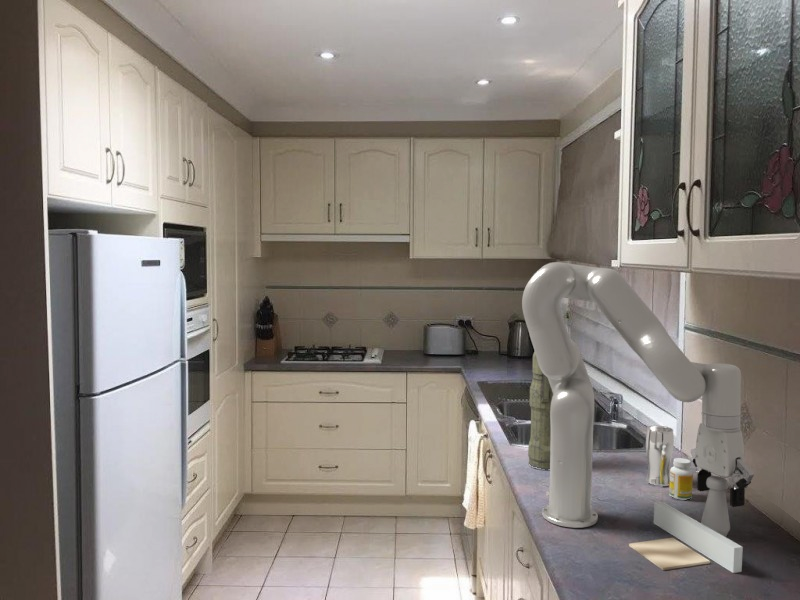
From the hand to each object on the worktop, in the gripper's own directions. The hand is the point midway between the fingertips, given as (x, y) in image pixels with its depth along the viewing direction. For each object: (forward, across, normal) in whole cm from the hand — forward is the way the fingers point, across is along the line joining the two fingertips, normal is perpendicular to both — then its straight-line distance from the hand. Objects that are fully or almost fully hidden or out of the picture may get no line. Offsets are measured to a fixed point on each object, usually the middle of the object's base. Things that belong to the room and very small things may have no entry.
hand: (720, 497), depth 143 cm
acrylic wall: (+8, +2, -9) cm, 12 cm away
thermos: (+8, -52, -15) cm, 55 cm away
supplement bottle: (+9, -22, +7) cm, 24 cm away
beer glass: (+8, -32, +8) cm, 34 cm away
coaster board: (+8, +4, -17) cm, 19 cm away
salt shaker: (+9, 0, -1) cm, 9 cm away
